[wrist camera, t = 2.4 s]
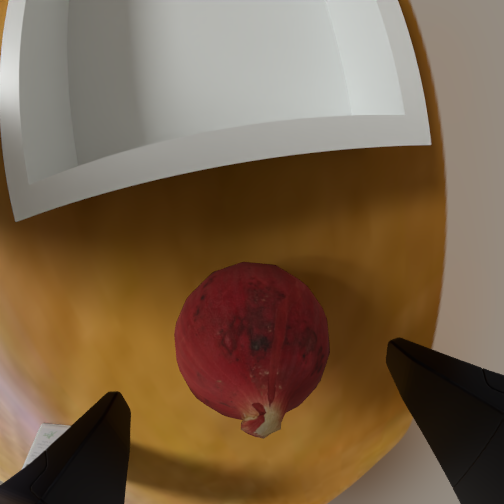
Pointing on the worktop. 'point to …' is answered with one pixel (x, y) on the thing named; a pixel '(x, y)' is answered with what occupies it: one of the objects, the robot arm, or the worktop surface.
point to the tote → (194, 89)
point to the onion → (252, 344)
